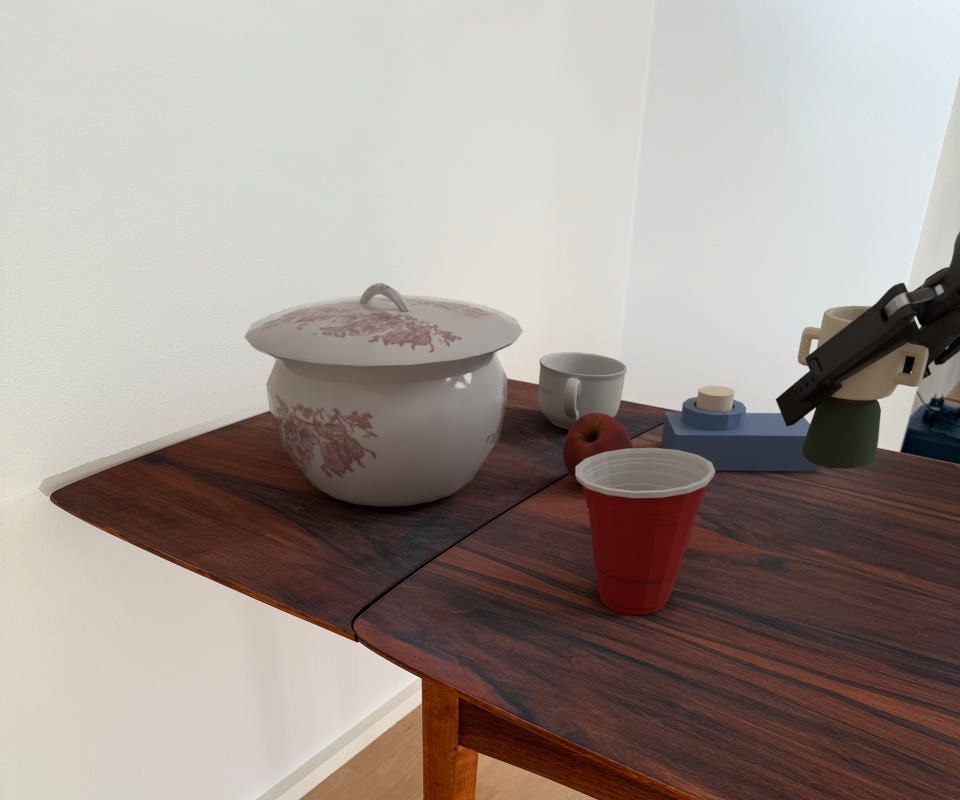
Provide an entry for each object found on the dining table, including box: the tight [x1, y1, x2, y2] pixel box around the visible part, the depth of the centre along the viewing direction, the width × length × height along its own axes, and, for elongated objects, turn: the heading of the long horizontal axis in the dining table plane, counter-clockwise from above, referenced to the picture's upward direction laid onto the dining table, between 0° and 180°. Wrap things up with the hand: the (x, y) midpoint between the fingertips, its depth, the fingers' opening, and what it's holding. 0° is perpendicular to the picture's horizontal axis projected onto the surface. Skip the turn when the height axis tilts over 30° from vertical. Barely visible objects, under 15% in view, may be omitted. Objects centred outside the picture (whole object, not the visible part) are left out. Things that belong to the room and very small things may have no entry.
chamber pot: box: [244, 282, 524, 508], centre depth 91 cm, size 28×28×21 cm
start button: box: [696, 385, 735, 411], centre depth 100 cm, size 4×4×2 cm
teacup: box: [537, 351, 628, 431], centre depth 110 cm, size 14×11×8 cm
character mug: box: [797, 305, 929, 470], centre depth 76 cm, size 11×7×13 cm, turn 46°
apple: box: [562, 413, 634, 485], centre depth 94 cm, size 7×8×8 cm
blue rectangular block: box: [660, 396, 816, 473], centre depth 101 cm, size 16×8×6 cm, turn 88°
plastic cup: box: [576, 447, 716, 616], centre depth 72 cm, size 11×11×12 cm
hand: (818, 405), depth 80 cm, fingers closed on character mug, 7 cm apart
